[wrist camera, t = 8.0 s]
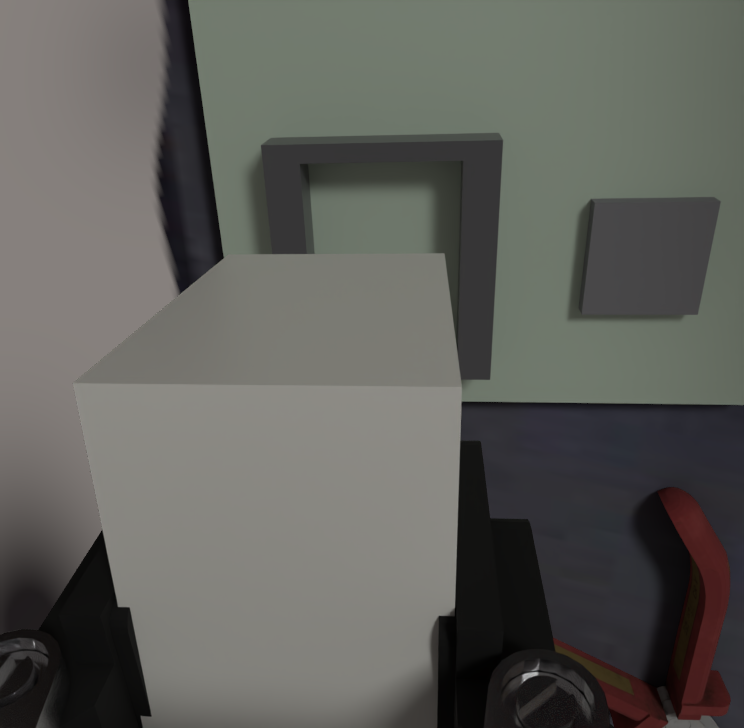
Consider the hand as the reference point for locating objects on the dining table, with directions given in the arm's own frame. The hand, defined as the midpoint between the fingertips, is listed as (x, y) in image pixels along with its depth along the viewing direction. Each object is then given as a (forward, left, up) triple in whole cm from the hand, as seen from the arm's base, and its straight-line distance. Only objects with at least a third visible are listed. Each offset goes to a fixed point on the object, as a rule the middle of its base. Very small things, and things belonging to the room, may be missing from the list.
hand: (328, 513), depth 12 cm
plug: (0, -1, -2) cm, 3 cm away
